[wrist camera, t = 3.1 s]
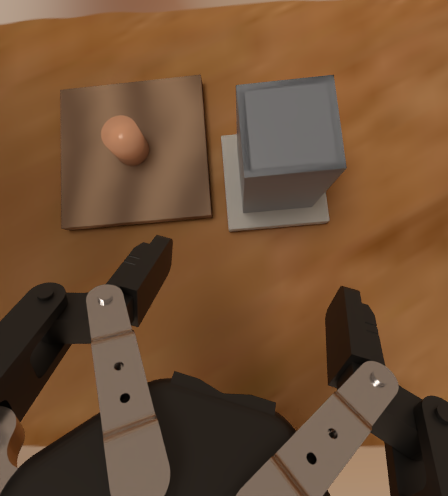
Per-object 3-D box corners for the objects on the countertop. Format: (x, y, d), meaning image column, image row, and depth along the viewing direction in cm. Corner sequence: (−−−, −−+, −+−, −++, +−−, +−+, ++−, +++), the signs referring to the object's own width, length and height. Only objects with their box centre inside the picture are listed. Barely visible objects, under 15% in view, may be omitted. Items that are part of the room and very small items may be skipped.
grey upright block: (242, 213, 28) (244, 177, 19) (237, 148, 28) (235, 85, 20) (311, 206, 27) (346, 168, 18) (304, 142, 28) (333, 74, 19)
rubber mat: (229, 231, 28) (228, 229, 28) (221, 141, 30) (221, 136, 29) (326, 223, 28) (329, 220, 27) (314, 131, 29) (317, 126, 28)
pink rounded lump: (116, 167, 29) (101, 152, 26) (115, 135, 29) (100, 117, 26) (150, 164, 29) (138, 149, 26) (148, 132, 29) (137, 113, 26)
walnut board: (67, 230, 29) (61, 228, 28) (66, 96, 31) (60, 90, 30) (212, 217, 29) (211, 214, 28) (201, 81, 31) (200, 74, 30)
